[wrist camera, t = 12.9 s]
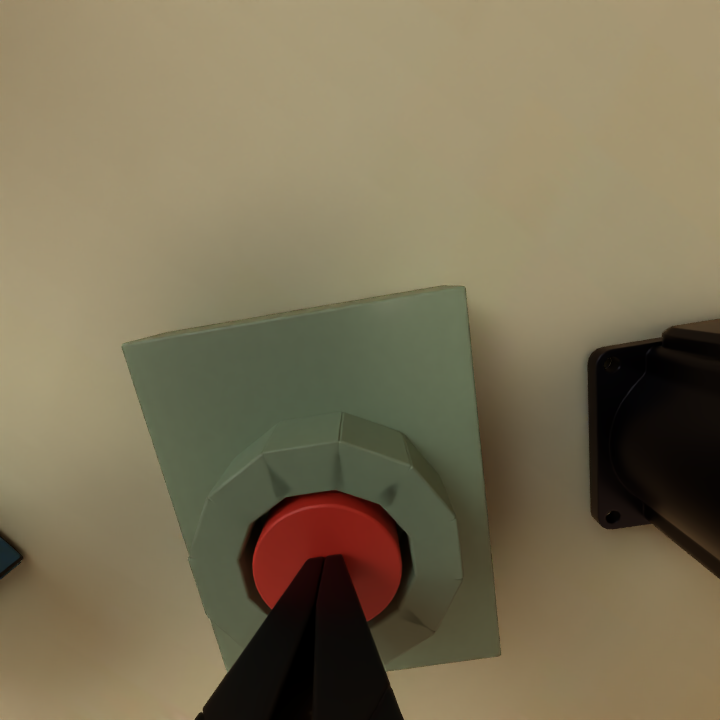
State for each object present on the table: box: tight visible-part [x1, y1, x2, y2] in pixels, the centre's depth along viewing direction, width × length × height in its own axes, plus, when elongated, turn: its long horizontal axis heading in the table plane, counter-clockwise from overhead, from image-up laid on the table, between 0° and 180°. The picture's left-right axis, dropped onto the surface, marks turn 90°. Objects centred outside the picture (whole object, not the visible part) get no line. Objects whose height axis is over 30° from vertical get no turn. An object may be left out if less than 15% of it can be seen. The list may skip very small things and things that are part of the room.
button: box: [252, 490, 402, 621], centre depth 9 cm, size 4×4×2 cm
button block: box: [122, 286, 501, 673], centre depth 10 cm, size 12×9×4 cm
